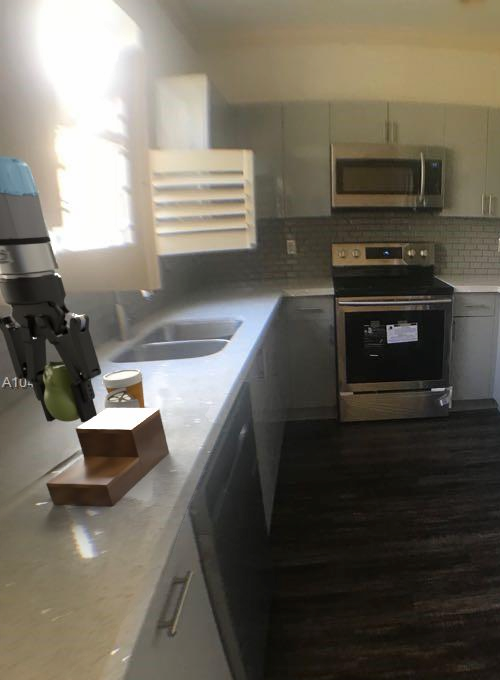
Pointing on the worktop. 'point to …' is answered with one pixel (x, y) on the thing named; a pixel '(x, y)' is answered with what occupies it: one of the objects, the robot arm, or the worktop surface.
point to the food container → (120, 400)
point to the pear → (59, 392)
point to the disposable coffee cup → (126, 383)
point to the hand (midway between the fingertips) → (72, 418)
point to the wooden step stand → (111, 457)
